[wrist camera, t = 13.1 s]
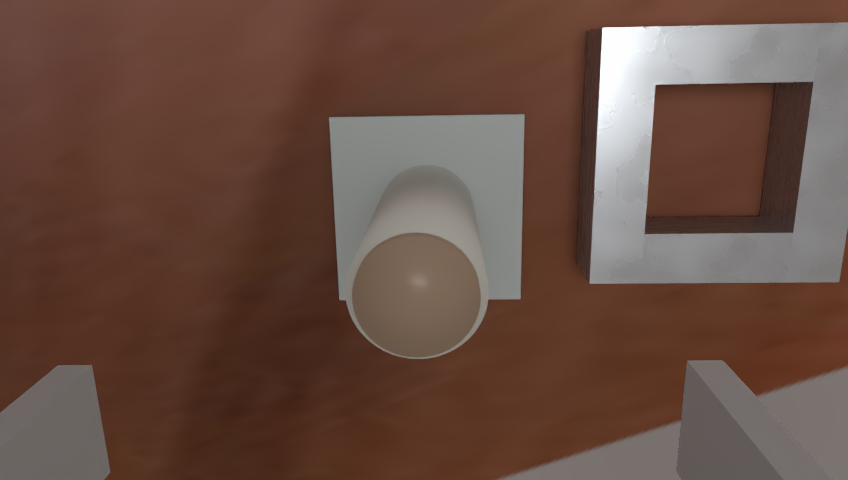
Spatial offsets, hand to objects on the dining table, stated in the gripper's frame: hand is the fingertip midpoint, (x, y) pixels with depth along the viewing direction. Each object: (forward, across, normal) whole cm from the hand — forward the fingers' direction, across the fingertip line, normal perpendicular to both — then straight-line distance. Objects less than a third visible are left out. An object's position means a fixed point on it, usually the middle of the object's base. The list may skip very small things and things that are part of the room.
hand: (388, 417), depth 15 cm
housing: (+21, +14, +3) cm, 26 cm away
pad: (+21, 0, 0) cm, 21 cm away
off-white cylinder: (+21, 0, 0) cm, 21 cm away
